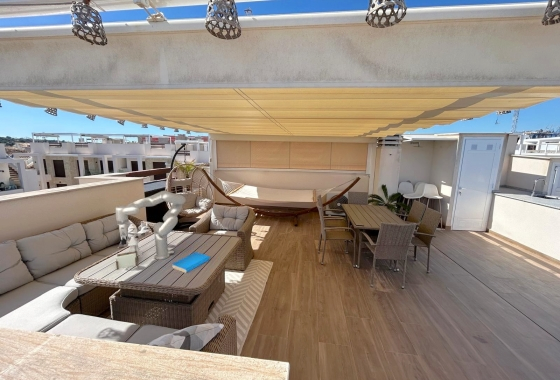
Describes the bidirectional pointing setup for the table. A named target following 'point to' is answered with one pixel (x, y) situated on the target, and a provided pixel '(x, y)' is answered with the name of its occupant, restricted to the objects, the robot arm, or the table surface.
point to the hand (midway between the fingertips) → (124, 242)
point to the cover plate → (126, 260)
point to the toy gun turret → (134, 245)
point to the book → (190, 262)
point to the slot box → (127, 254)
